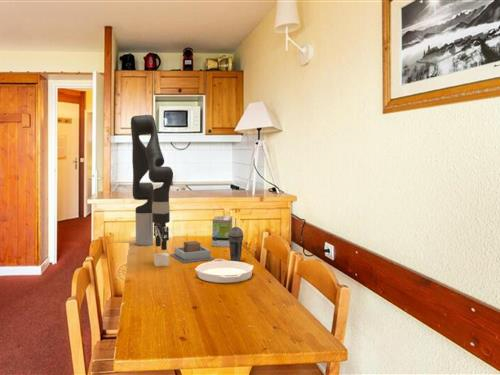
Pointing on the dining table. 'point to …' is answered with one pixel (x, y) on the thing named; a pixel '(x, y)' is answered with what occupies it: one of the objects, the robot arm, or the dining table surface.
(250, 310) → the dining table surface
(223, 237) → the tea box
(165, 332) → the dining table surface
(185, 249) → the walnut block
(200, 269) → the pan
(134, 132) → the robot arm
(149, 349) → the dining table surface
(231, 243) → the beverage cup
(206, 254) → the grey shallow box
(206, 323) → the dining table surface
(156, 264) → the cream block
